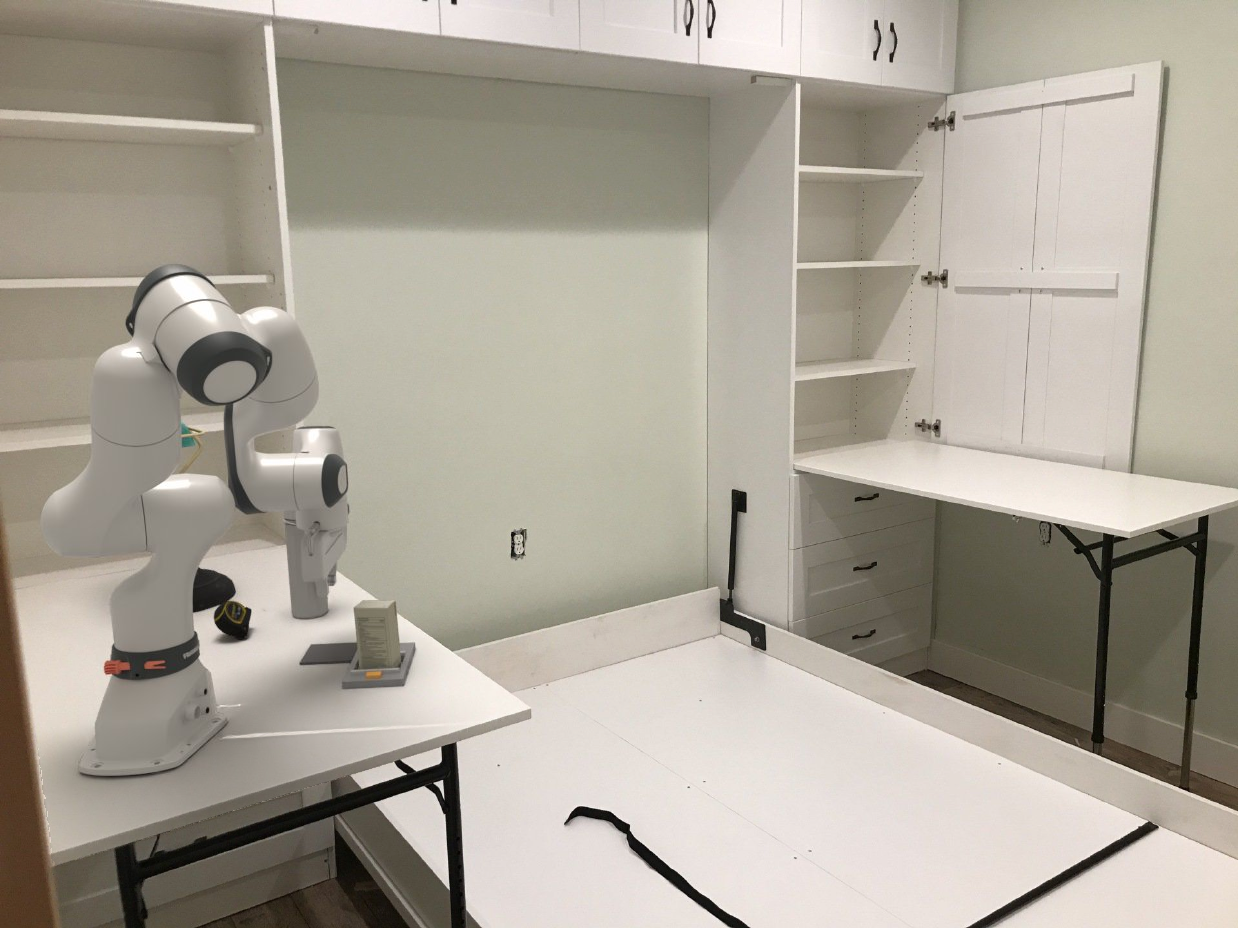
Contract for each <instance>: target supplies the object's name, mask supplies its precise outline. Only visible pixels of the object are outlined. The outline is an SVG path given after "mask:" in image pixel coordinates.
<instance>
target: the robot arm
mask: <svg viewBox="0 0 1238 928" xmlns="http://www.w3.org/2000/svg"><path fill="white" fill-rule="evenodd" d="M124 323H125V328H126V330H127V332H128V333H129V335H130V336H131V337H132V338H131V340H129V341H127V342H125V343H123V344H122V343H121V344H118V345H114V346H113V347H110V348H109V349H107V350H105V351H104V352H103V353H101V355H100V356H99V357H98V359H97V360H96V361H95V364H94V367H93V371H92V374H91V375H92V376H91V381H90V388H89V419H90V420H89V422H90V431H91V432H90V435H91V449H90V450H91V451H90V453H91V454H90V460H89V461H88V463H87V465H86V467H85V468H84V469H83V470H82V472H81V473H80V474H79V475H78V476H76V477H75V479H73V480H72V481H71V482H69V483H68V484H67V485H65V486H63V487H61V488H59V489H58V490H56V491H54V492H53V493H51V494H50V496H49V498H48V499H47V500H46V501H45V503H44V505H43V507H42V511H41V514H40V521H39V523H40V530H41V535H42V537H43V539H44V541H45V542H46V544H47V545H48V547H49V548H50V549H51V550H52V551H53V552H54V553H56V554H57V555H59V556H60V557H63V558H79V559H81V558H82V559H84V558H85V559H100V558H101V559H102V558H108V557H115V556H121V555H122V556H124V555H130V554H137V553H138V554H139V553H145V552H146V553H152V554H151V557H150V559H149V561H148V562H147V564H146V565H145V566H144V567H142V568H141V569H140V570H138V571H137V572H135V573H133V574H131V575H130V576H128V577H127V578H125V579H124V580H123V581H121V582H120V583H119V584H118V585H117V586H116V587H115V588H114V590H113V591H112V592H111V595H110V598H109V611H110V619H111V628H112V636H113V637H112V638H113V643H112V645H111V651H110V652H111V653H110V659H109V660H106V661H105V662H104V663H103V672H104V674H105V675H106V676H107V675H110V677H109V681H108V684H107V686H106V689H105V693H104V695H103V697H102V700H101V704H100V706H99V709H98V713H97V716H96V719H95V722H94V734H93V737H92V739H91V740H90V742H89V744H88V747H87V748H86V749H85V752H84V754H83V756H82V757H81V760H80V762H79V764H78V772H80V773H83V774H86V775H90V776H101V777H102V776H105V777H106V776H108V777H110V776H114V777H115V776H131V775H142V774H148V773H154V772H155V773H156V772H162V771H166V770H170V769H173V768H176V767H180V765H181V764H183V763H185V761H186V760H188V759H189V758H190V757H191V756H192V755H193V754H195V752H197V751H198V750H199V749H201V747H202V746H203V745H205V743H207V742H208V741H209V740H211V739H212V737H214V736H215V735H216V734H217V733H218V732H220V730H221V729H223V728H224V727H225V726H226V725H227V724H228V723H229V720H228V715H227V714H224V713H222V712H219V711H218V705H217V700H216V694H215V688H214V683H213V682H214V681H213V677H212V673H211V671H210V670H209V669H208V668H207V667H206V666H205V665H204V664H203V663H202V662H201V660H200V655H201V652H200V647H201V646H200V645H201V643H200V639H199V635H198V633H197V631H196V630H195V625H194V623H195V622H194V613H193V583H194V579H195V575H196V572H197V569H198V567H199V568H200V565H201V563H202V561H203V559H204V558H205V556H206V555H207V553H208V552H209V551H210V550H211V549H212V548H213V546H214V545H215V544H216V543H217V542H218V541H219V540H221V539H222V538H223V537H225V535H226V534H227V533H228V532H229V530H230V528H231V527H232V525H233V523H234V520H235V516H236V510H237V509H238V510H239V511H240V512H242V513H243V514H245V515H248V516H249V515H256V514H258V515H259V514H265V513H268V512H269V513H270V512H272V513H273V512H276V513H277V512H283V511H295V512H296V526H297V528H298V529H301V530H304V531H305V536H304V537H303V539H302V543H301V568H302V577H303V580H304V581H305V582H315V585H316V588H317V596H318V597H329V596H328V595H329V593H330V587H335V585H336V584H337V571H338V560H339V559H340V558H341V556H342V555H343V553H345V551H346V549H347V539H348V524H349V515H350V511H351V510H350V509H351V508H350V503H349V502H348V496H347V494H348V490H349V475H348V464H347V462H346V461H345V455H344V448H343V444H342V438H341V435H340V432H339V429H338V428H336V427H334V426H332V425H306V426H300V427H297V428H296V429H294V430H293V433H292V435H293V436H292V447H291V448H292V449H291V452H289V453H288V452H287V453H285V452H284V453H265V452H259V451H256V447H255V439H256V438H258V437H260V436H263V435H266V434H270V433H274V432H278V431H284V430H287V429H290V428H293V427H294V426H296V425H298V424H299V423H301V422H302V421H304V419H306V418H307V417H308V416H309V415H310V414H311V413H312V411H313V410H314V409H315V408H316V405H317V403H318V400H319V395H320V387H319V385H320V384H319V377H318V371H317V368H316V364H315V360H314V357H313V354H312V351H311V348H310V346H309V344H308V342H307V338H306V337H305V335H304V333H303V331H302V330H301V328H300V326H299V324H298V322H297V321H296V320H295V318H294V317H293V316H292V315H291V314H289V313H288V312H287V311H285V310H283V309H281V308H279V307H274V306H268V305H267V306H257V307H252V308H251V309H248V310H246V311H245V312H243V313H241V314H239V313H237V312H236V311H235V309H234V308H233V307H232V306H231V304H230V303H229V301H227V299H226V298H225V297H224V295H222V294H221V293H220V291H218V289H217V287H216V286H215V283H214V282H213V281H211V280H210V279H209V278H208V277H207V276H206V275H204V274H203V273H201V272H200V271H198V270H197V269H196V268H194V267H191V266H189V265H185V264H182V263H170V264H166V265H162V266H159V267H156V268H155V269H153V270H152V271H150V272H149V273H148V274H147V275H146V276H145V277H144V278H143V279H142V280H141V281H140V283H139V285H138V286H137V288H136V290H135V293H134V296H133V299H132V306H131V309H130V311H129V312H128V314H127V316H126V318H125V322H124ZM184 391H185V392H186V393H187V394H188V395H189V396H190V397H191V398H193V399H194V400H195V401H197V402H199V403H200V404H202V405H205V406H207V407H208V406H209V407H210V406H211V407H220V406H221V407H222V406H224V410H223V434H224V435H223V436H224V446H225V456H226V457H225V458H226V465H227V466H226V467H227V478H226V482H225V481H224V480H223V479H221V478H220V477H218V476H217V475H211V474H210V475H209V474H201V473H200V474H199V473H188V472H187V473H186V472H185V473H184V474H179V473H176V474H174V472H175V471H176V470H177V468H178V466H179V464H180V461H181V459H182V455H183V454H182V453H183V451H182V450H183V449H182V448H183V447H182V438H181V422H182V408H181V399H182V396H183V392H184Z"/></svg>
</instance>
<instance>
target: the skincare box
mask: <svg viewBox="0 0 1238 928" xmlns="http://www.w3.org/2000/svg"><path fill="white" fill-rule="evenodd" d="M353 616H354V627H355V636H356V642H357V649H358V660H359V666H358V668H359V669H358V670H361V669H383V668H400V669H401V666H402V662H401V655H400V644H399V643H400V635H399V632H400V631H399V621H398V620H399V619H398V611H397V601H396V600H395V599H391V600H389V599H386V600H385V599H364V600H361V601H360V602H359V603H357V604H356V605H355V606H354V607H353Z"/></svg>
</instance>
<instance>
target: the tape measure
mask: <svg viewBox="0 0 1238 928" xmlns="http://www.w3.org/2000/svg"><path fill="white" fill-rule="evenodd" d="M252 613H253V611H252V608H250V607H247V606H244V605H243V604H241V602H238V601H235V600H228V601H226V602H223V603H222V604H221V605H218V606H217V607H216V609H215V611H214V613H213V622H214V625H215V626H216V628H217V629H218V630H219V631H221V633H222V634H224V635H227V636H228V637H229V636H231V637H234V638H236V639H238V640H244V639H245V638H246V637H247V636H248V635H249V631H250V620H251V617H252Z"/></svg>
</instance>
